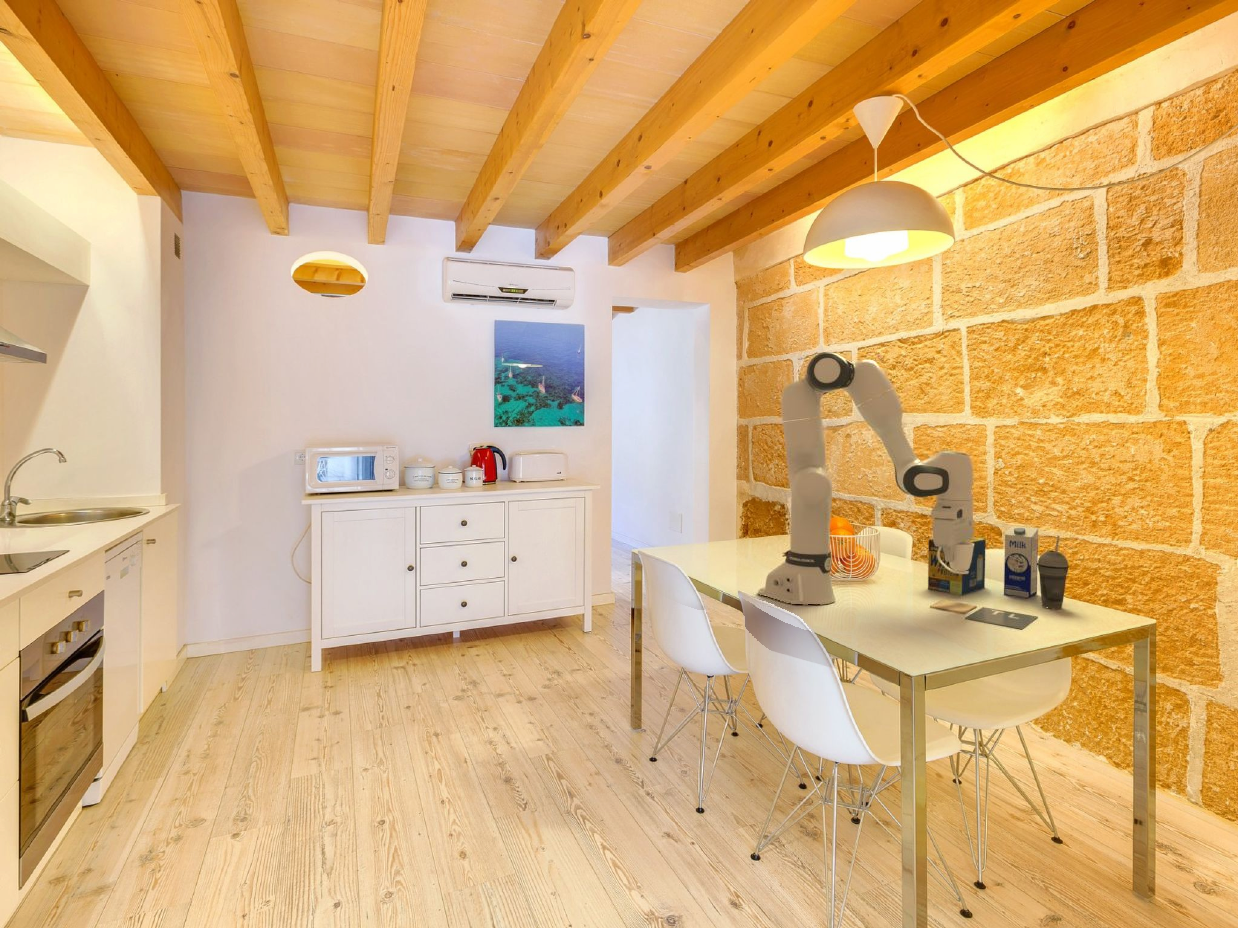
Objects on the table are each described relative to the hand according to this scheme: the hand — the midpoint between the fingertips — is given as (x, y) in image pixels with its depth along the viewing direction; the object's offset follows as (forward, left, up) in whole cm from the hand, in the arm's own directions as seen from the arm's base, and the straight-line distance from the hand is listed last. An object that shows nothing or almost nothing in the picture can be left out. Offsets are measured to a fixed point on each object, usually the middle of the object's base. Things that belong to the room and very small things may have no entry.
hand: (954, 559), depth 177 cm
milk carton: (+9, +28, -14) cm, 32 cm away
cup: (0, 0, -4) cm, 4 cm away
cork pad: (0, 0, -14) cm, 14 cm away
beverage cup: (+19, +19, -14) cm, 30 cm away
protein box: (-7, +23, -14) cm, 28 cm away
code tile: (+12, -2, -14) cm, 18 cm away
